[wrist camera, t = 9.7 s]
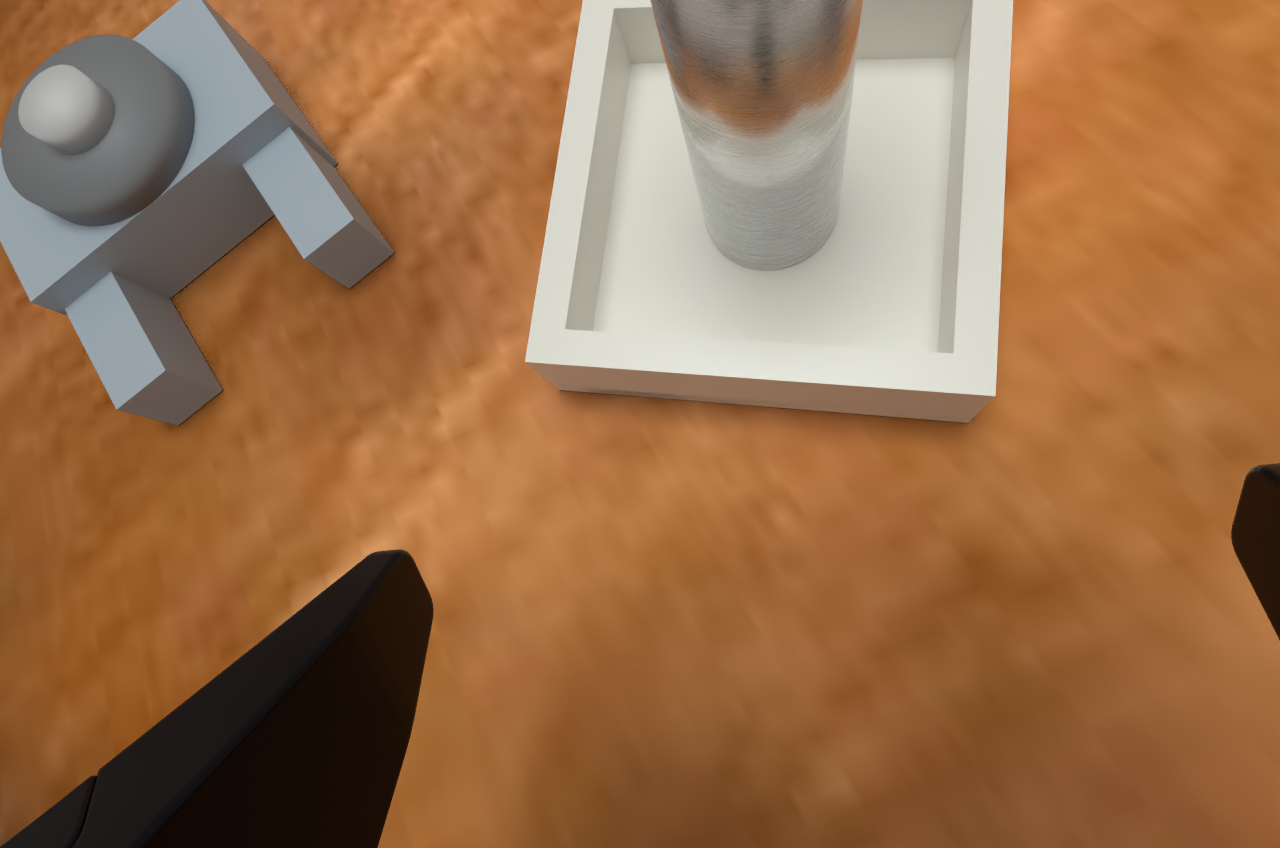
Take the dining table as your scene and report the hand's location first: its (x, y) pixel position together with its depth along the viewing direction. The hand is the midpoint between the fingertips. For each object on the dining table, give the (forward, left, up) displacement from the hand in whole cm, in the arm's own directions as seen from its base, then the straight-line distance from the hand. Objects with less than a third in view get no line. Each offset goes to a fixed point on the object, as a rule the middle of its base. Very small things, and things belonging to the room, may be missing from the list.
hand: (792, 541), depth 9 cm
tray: (+11, +2, -14) cm, 17 cm away
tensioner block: (+9, +21, -14) cm, 27 cm away
